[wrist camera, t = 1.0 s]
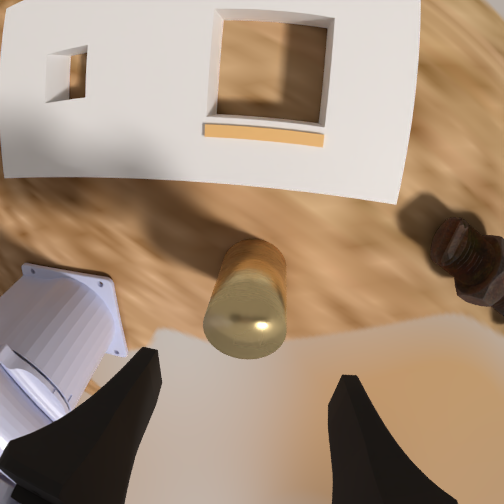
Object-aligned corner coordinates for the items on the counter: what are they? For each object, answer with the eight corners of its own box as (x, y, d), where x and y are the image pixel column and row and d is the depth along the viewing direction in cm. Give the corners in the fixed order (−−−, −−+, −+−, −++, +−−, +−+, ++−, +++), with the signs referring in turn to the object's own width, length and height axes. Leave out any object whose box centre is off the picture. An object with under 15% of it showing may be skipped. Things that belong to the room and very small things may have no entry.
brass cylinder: (222, 290, 21) (203, 353, 16) (224, 235, 20) (202, 291, 14) (282, 297, 21) (280, 362, 16) (290, 242, 19) (292, 301, 14)
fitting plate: (26, 168, 18) (2, 179, 16) (29, 11, 13) (4, 8, 10) (382, 190, 17) (397, 205, 15) (403, -4, 12) (421, -17, 9)
